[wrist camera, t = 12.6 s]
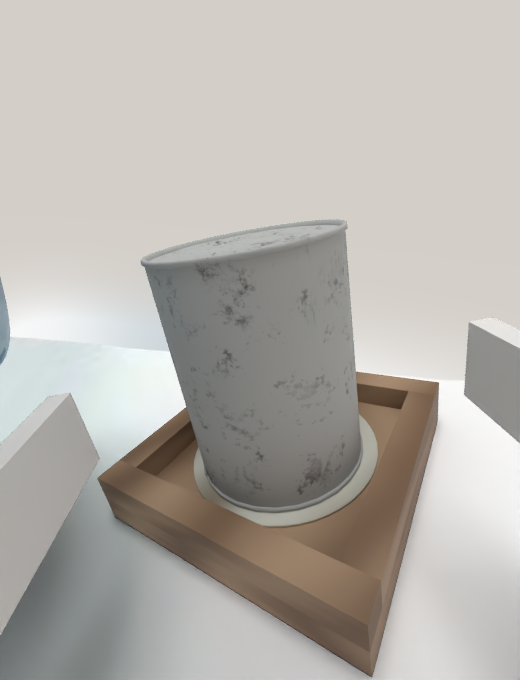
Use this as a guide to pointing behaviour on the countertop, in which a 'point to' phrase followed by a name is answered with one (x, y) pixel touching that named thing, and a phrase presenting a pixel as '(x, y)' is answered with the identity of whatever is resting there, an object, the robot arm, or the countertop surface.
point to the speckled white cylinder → (265, 359)
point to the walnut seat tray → (295, 521)
